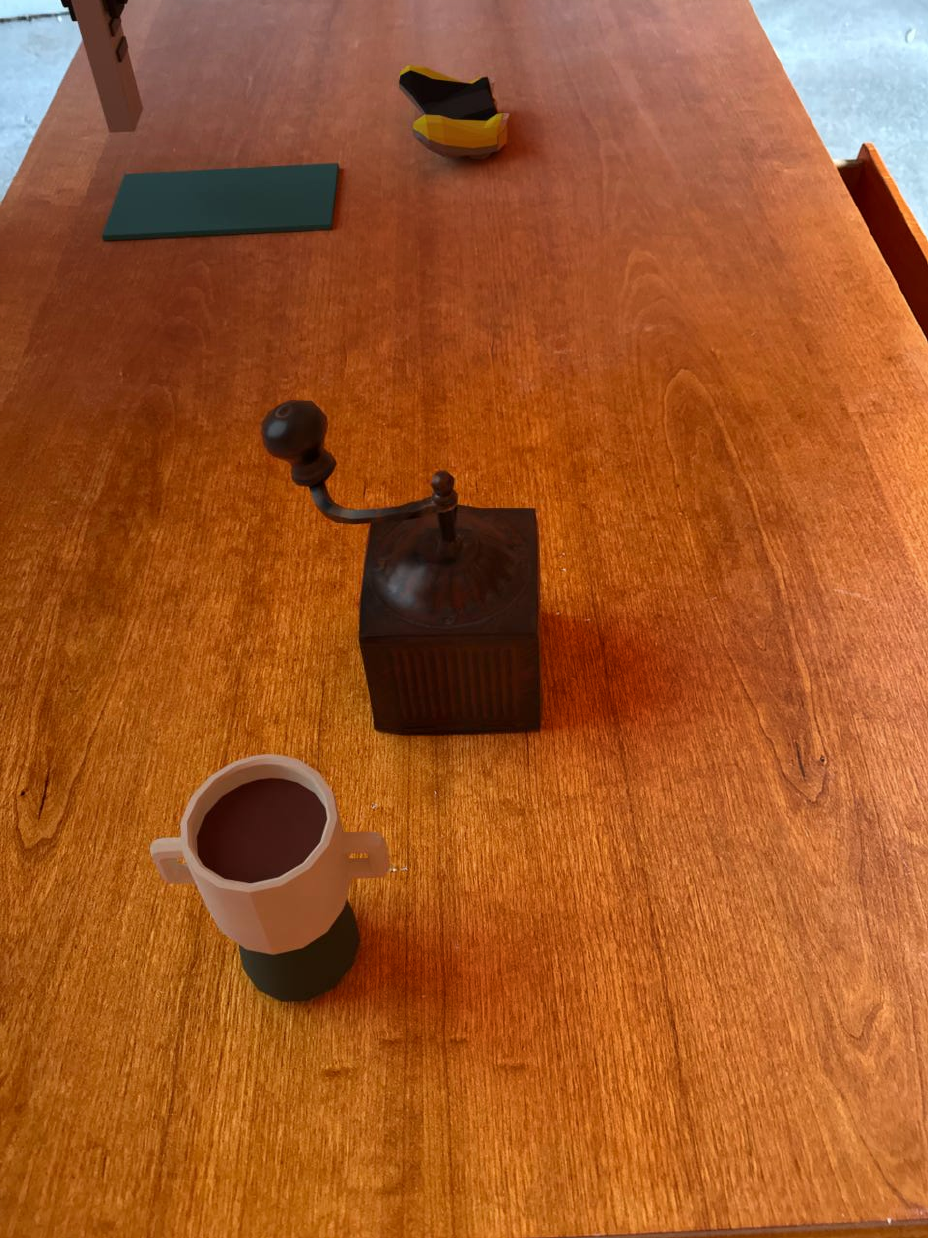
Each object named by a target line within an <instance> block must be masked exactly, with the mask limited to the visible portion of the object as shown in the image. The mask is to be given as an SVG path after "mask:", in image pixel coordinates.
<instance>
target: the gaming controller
mask: <svg viewBox="0 0 928 1238" xmlns="http://www.w3.org/2000/svg"><path fill="white" fill-rule="evenodd" d="M495 87H496V80H495V77H489V76H480V77H476V78H475V79H473V80H471V81H466V82H464V81H461V80H458V79H456V78H454V77H451V76H449V75H446V74H443V73H441V72H439V71H436V70H434V69H431V68H429V67H427V66H425V65H417V64H407V66H405V67H404V68H403V69H402V70H401V71H400V72H399V77H398V88H399V90H400V91H401V92H402V93H403V94H404V95H405V96H406V98H407V99H408V100H409V101H410V102H411V104H412V105H414V106H415V108H416V109H417V110H418V112H420V114H422V116H420V117H419V118H417V119H416V120H415V121H413V125H412V136H413V137H414V138H415V139H416V140H417V141H418V142H419V143H421V145H423V146H424V147H425V148H426V149H427V150H429V151H431V152H433V153H435V154H437V155H439V156H441V157H442V158H448V157H466V156H467V157H468V156H469V157H470V158H471V159H473V160H484V159H487V158H490V157H491V155H492V154H493V153H496V152H499V151H500V150H501V149H502V147H504V146H505V144H506V143H507V142H508V125H507V122H508V120H509V116H510V113H507V112H506V113H505V112H502V111H500V112H499V111H498V100H497V99H496V98H495V97H494V91H495Z"/></svg>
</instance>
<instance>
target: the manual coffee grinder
mask: <svg viewBox="0 0 928 1238" xmlns="http://www.w3.org/2000/svg"><path fill="white" fill-rule="evenodd" d="M328 429H329V422H328V417H327V415H326V414H325V413H324V411H323V410H322V409H321V408H320V407H319V405H317V404H316V403H315V402H314V401H313V400H310V399H309V400H308V399H307V400H306V399H305V400H304V399H303V400H302V399H290V400H287V401H285V402H282V403H280V404H278V405H276V406H274V407H273V408H272V409H270V410H269V411H268V412H267V413H266V415H265V416H264V418H263V420H262V421H261V430H260V434H261V439H262V444H263V446H264V448H265V450H266V452H267V453H268V454H269V455H271V456H272V457H273V458H276V459H279V460H281V461H284V462H287V463H288V464H289V465H290V477H291V478H290V479H291V481H292V482H293V483H294V485H296V486H298V487H308V489H309V492H310V495H311V497H312V500H313V503H314V505H315V507H316V509H317V510H318V511H319V512H320V513H321V515H322V516H324V518H326V519H328V520H330V521H331V522H335V523H336V524H345V525H365V524H367V525H368V524H369V527H368V531H367V536H366V543H365V551H364V552H365V553H364V561H363V570H362V578H361V584H360V591H359V597H358V598H359V599H358V643H359V650H360V655H361V659H362V664H363V670H364V673H365V679H366V684H367V688H368V689H367V690H368V694H369V699H370V705H371V712H372V718H373V719H372V720H373V730H375V731H376V732H378V733H385V734H391V735H398V736H473V735H474V736H475V735H491V734H492V735H493V734H494V735H495V734H514V733H534V732H535V733H536V732H540V731H541V728H542V721H543V720H542V719H543V711H544V710H543V708H544V693H543V692H544V690H543V679H542V678H543V677H542V637H541V615H542V607H541V606H542V604H541V603H542V602H541V601H542V600H541V599H542V598H541V593H542V592H541V544H540V530H539V529H540V528H539V521H538V517H537V510H536V509H537V508H536V507H477V506H470V505H465V504H459V494H458V492H457V491H456V489H454V488H455V483H456V478H455V477H454V476H453V475H452V474H451V473H450V472H448V471H446V470H445V469H441V470H438V471H435V472H434V474H433V477H432V479H431V482H430V483H429V485H430V487H431V488H432V490H433V492H432V493H431V494H430V496H428V497H424V498H422V499H418V500H415V501H409V502H406V503H403V504H401V505H397V506H388V507H378V508H365V509H364V508H363V509H356V508H355V509H354V508H348V507H344V506H342V505H340V504H339V503H337V502H335V501H334V500H333V498H332V497H331V495H330V493H329V490H328V488H327V485H326V482H327V481H328V479H329V478H330V477H331V476H332V475H333V474H334V471H335V469H336V468H337V465H338V463H337V460H336V458H335V457H334V455H333V453H332V452H330V451H328V450H327V449H326V447H325V445H326V444H325V441H326V436H327V432H328Z"/></svg>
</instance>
